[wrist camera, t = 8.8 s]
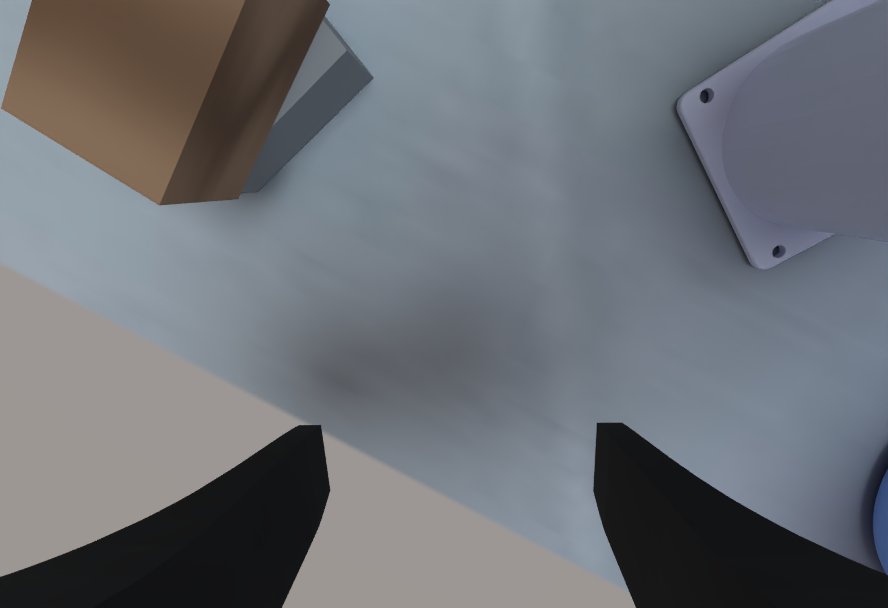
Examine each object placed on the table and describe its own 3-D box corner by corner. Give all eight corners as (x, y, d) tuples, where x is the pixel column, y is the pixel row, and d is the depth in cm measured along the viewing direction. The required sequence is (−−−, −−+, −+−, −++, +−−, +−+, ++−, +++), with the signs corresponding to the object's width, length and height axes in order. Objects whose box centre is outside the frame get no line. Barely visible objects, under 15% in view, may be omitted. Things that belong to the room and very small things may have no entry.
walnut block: (200, -85, 13) (87, -194, 9) (330, 4, 14) (272, -65, 10) (122, 126, 15) (1, 108, 11) (237, 199, 15) (158, 205, 12)
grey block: (297, -19, 17) (246, -77, 13) (374, 78, 18) (346, 50, 14) (184, 107, 19) (108, 89, 15) (259, 191, 19) (205, 194, 15)
